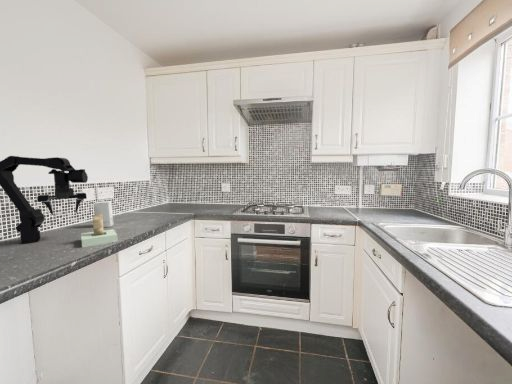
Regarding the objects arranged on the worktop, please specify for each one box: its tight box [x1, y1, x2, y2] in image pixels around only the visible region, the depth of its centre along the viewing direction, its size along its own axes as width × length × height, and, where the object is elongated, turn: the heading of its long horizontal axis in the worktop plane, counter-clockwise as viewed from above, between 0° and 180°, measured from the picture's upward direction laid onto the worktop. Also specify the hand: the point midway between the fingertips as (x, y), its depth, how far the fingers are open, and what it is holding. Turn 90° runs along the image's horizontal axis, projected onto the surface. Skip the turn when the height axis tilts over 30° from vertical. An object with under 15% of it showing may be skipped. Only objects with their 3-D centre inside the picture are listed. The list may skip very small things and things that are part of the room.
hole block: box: [80, 228, 119, 248], centre depth 115 cm, size 14×14×4 cm
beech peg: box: [92, 214, 105, 236], centre depth 115 cm, size 4×4×13 cm
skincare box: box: [93, 200, 114, 228], centre depth 145 cm, size 8×7×16 cm
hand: (64, 214), depth 117 cm, fingers open, 9 cm apart
